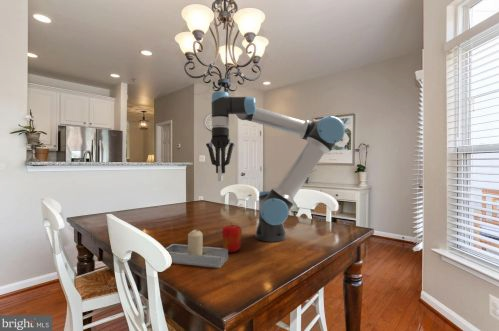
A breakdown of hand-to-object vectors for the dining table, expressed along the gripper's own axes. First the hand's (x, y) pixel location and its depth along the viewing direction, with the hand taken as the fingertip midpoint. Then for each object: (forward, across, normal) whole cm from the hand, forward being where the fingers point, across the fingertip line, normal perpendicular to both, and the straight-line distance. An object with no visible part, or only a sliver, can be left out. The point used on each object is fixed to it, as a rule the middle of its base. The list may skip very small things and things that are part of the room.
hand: (220, 180), depth 113 cm
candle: (+28, +5, +17) cm, 33 cm away
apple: (+29, -6, +5) cm, 30 cm away
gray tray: (+29, +5, +18) cm, 34 cm away
